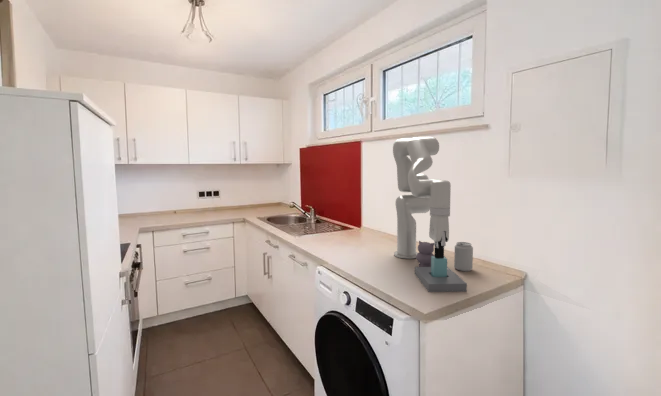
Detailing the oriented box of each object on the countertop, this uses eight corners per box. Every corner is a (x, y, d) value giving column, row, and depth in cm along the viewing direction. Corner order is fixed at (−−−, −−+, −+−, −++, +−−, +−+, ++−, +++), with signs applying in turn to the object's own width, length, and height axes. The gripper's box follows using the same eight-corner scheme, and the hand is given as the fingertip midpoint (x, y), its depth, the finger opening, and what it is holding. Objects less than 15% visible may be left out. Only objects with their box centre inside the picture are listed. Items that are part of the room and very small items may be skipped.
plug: (430, 280, 129) (431, 256, 128) (443, 280, 128) (443, 256, 127) (433, 283, 125) (434, 259, 124) (446, 283, 124) (447, 259, 123)
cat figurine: (412, 267, 144) (413, 242, 143) (420, 263, 150) (420, 239, 149) (430, 271, 139) (431, 245, 138) (438, 267, 145) (438, 241, 143)
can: (457, 265, 147) (457, 240, 145) (474, 268, 142) (475, 242, 141) (451, 269, 141) (452, 243, 140) (469, 273, 136) (470, 246, 135)
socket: (414, 273, 137) (414, 265, 136) (447, 273, 136) (447, 265, 136) (428, 291, 117) (428, 282, 116) (466, 291, 116) (466, 282, 116)
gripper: (424, 209, 131) (424, 252, 133) (436, 214, 116) (435, 263, 118) (442, 209, 131) (442, 252, 133) (456, 214, 116) (455, 263, 118)
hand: (439, 257), depth 125 cm, fingers closed
